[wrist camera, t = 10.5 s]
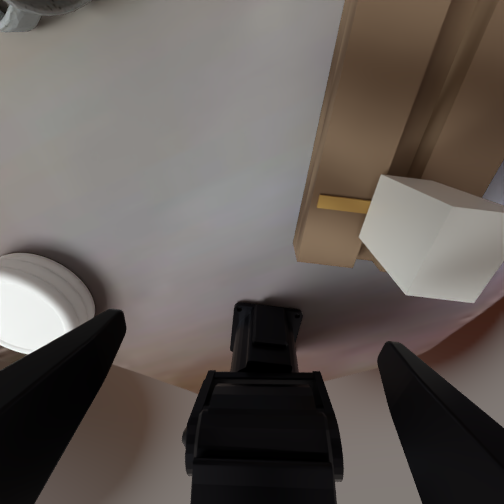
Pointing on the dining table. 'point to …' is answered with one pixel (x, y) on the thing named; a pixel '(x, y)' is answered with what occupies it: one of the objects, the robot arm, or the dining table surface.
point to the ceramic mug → (34, 12)
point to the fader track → (402, 114)
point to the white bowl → (39, 301)
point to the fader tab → (434, 238)
